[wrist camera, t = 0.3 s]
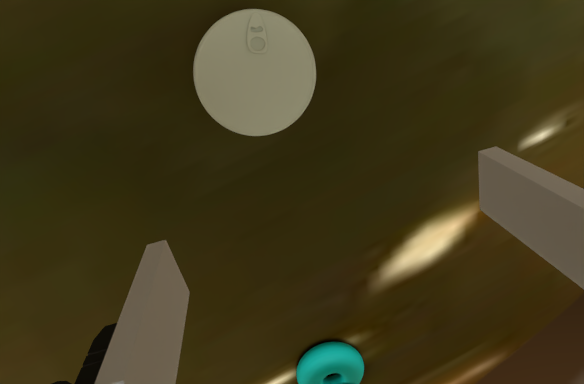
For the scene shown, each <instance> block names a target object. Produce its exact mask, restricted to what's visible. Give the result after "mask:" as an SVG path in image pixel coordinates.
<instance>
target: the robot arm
mask: <svg viewBox="0 0 584 384" xmlns="http://www.w3.org/2000/svg"><path fill="white" fill-rule="evenodd" d="M478 163H479V195H480V210H481V211H483V212H484V213H485V214H487V215H488V216H489V217H491V218H492V219H493V220H494V221H496V222H497V223H498V224H500V225H501V226H502V227H504V228H505V229H506V230H507V231H509V232H510V233H511V234H513V235H514V236H515V237H517V238H518V239H519V240H520V241H522V242H523V243H524V244H526V245H527V246H528V247H530V248H531V249H532V250H533V251H535V252H536V253H537V254H539V255H540V256H541V257H543V258H544V259H545V260H546V261H548V262H549V263H550V264H552V265H553V266H554V267H556V268H557V269H558V270H559V271H561V272H562V273H563V274H565V275H566V276H567V277H569V278H570V279H571V280H572V281H574V282H575V283H576V284H578V285H579V286H580V287H582V288H583V289H584V188H580V187H578V186H576V185H574V184H572V183H570V182H568V181H566V180H564V179H562V178H560V177H558V176H556V175H554V174H552V173H550V172H547V171H545V170H543V169H541V168H539V167H537V166H535V165H533V164H531V163H529V162H527V161H525V160H523V159H521V158H519V157H516V156H514V155H512V154H510V153H508V152H506V151H504V150H502V149H500V148H498V147H493V148H489V149H486V150H482V151H478ZM189 293H190V292H189V290H188V288H187V286H186V283H185V281H184V279H183V277H182V275H181V272H180V270H179V268H178V266H177V264H176V261H175V259H174V257H173V255H172V253H171V250H170V248H169V246H168V244H167V242H166V240H163V241H159V242H156V243H152V244H149V245H147V246H146V249H145V252H144V254H143V257H142V259H141V262H140V265H139V267H138V270H137V273H136V275H135V278H134V281H133V283H132V286H131V289H130V291H129V294H128V296H127V299H126V302H125V304H124V307H123V310H122V312H121V315H120V318H119V320H118V323H115V324H112V325H108V326H105V327H104V328H103V329H102V330H101V332H100V333H99V334H98V335H97V336H96V338H95V339H94V340H93V342H92V345H91V347H90V349H89V352H88V356H86V359H85V361H84V363H83V367H82V368H81V370H80V372H79V375H78V377H77V379H76V382H75V384H175V382H176V376H177V370H178V363H179V357H180V351H181V344H182V338H183V332H184V325H185V319H186V312H187V306H188V300H189ZM52 384H71V383H69V382H67V381H57V382H55V383H52Z"/></svg>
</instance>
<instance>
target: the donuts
mask: <svg viewBox="0 0 584 384" xmlns="http://www.w3.org/2000/svg"><path fill="white" fill-rule="evenodd" d="M333 373H337V374H336V375H333V376H330V377H326V376H327V375H330V374H333ZM363 373H364V363H363V359H362V357H361V355H360V354H359V352H358V351H357V350H356V349H355V348H354V347H352V346H350V345H348V344H346V343H342V342H326V343H322V344H319V345H317V346H315V347H313V348H311V349H310V350H309V351H307V352H306V353H305V354H304V355H303V357H302V358H301V360H300V361H299V364H298V366H297V372H296V376H297V381H298V384H359V383H360V381H361V379H362V377H363Z"/></svg>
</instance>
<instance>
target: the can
mask: <svg viewBox="0 0 584 384" xmlns="http://www.w3.org/2000/svg"><path fill="white" fill-rule="evenodd" d="M193 76H194V83H195V88H196V91H197V94H198V97H199V99H200V101H201V103H202V105H203V106H204V108H205V109H206V111H207V112H208V113H209V114H210V116H211V117H212V118H213V119H215V120H216V121H217V122H218V123H219V124H221V125H222V126H224V127H225V128H227V129H229V130H231V131H233V132H236V133H239V134H243V135H248V136H263V135H269V134H273V133H276V132H279V131H281V130H283V129H285V128H287V127H288V126H290V125H291V124H292V123H294V122H295V121H296V120H297V119H298V118H299V117H300V116H301V115H302V113H303V112H304V111H305V109H306V108H307V106H308V104H309V102H310V100H311V98H312V95H313V92H314V88H315V83H316V65H315V60H314V55H313V52H312V50H311V47H310V45H309V43H308V41H307V39H306V38H305V36H304V35H303V34H302V32H301V31H300V30H299V29H298V28H297V27H296V26H295V25H294V24H293V23H292V22H290V21H289V20H288V19H286V18H284V17H283V16H281V15H279V14H276V13H274V12H271V11H267V10H261V9H245V10H240V11H236V12H233V13H231V14H228V15H226V16H225V17H223V18H221V19H220V20H218V21H217V22H216V23H215V24H213V25H212V26H211V27H210V28H209V30H208V31H207V32H206V33H205V35H204V36H203V38H202V39H201V41H200V43H199V46H198V48H197V51H196V54H195V59H194V67H193Z"/></svg>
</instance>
